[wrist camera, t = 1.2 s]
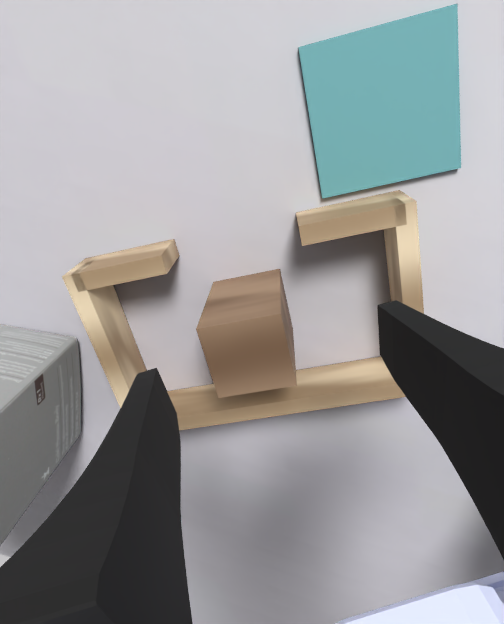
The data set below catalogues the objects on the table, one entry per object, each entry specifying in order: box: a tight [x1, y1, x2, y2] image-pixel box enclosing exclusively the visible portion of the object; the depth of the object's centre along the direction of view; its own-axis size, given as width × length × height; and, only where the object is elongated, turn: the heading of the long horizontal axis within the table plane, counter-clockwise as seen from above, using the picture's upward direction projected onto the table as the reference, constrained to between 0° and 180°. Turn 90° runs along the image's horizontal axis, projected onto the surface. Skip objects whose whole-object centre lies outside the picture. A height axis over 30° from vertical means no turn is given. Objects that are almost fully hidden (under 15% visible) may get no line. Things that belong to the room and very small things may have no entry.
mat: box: [298, 4, 461, 198], centre depth 21 cm, size 7×7×1 cm
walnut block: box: [196, 269, 297, 398], centre depth 23 cm, size 4×4×6 cm
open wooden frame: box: [62, 190, 424, 430], centre depth 24 cm, size 11×18×3 cm, turn 103°
